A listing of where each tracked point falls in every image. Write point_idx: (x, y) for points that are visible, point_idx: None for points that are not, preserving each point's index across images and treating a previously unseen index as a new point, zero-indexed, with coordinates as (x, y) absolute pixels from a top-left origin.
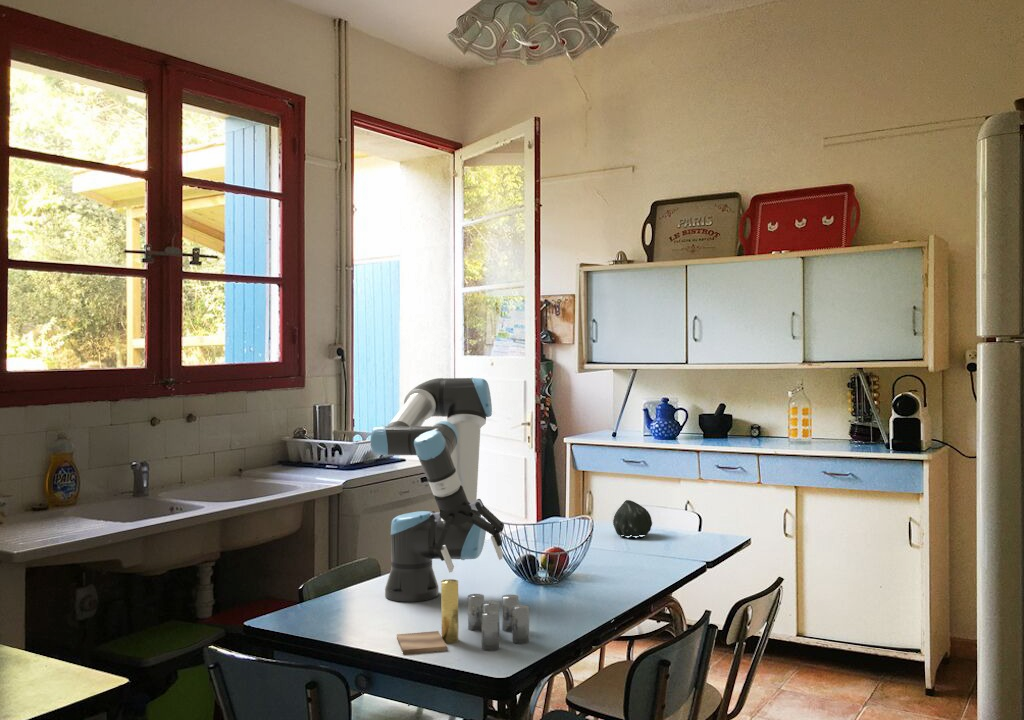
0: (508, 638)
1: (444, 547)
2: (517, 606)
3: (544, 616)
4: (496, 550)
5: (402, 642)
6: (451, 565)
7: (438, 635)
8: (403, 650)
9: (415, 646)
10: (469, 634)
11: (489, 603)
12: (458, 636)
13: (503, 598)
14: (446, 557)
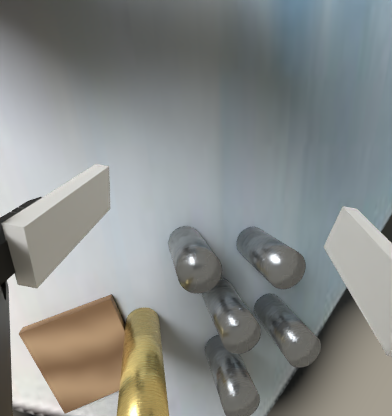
0: (247, 294)
1: (31, 259)
2: (298, 346)
3: (318, 150)
4: (347, 279)
5: (50, 377)
6: (100, 197)
7: (117, 326)
8: (65, 412)
9: (84, 392)
10: (175, 281)
11: (238, 335)
12: (159, 325)
13: (270, 281)
14: (70, 250)
